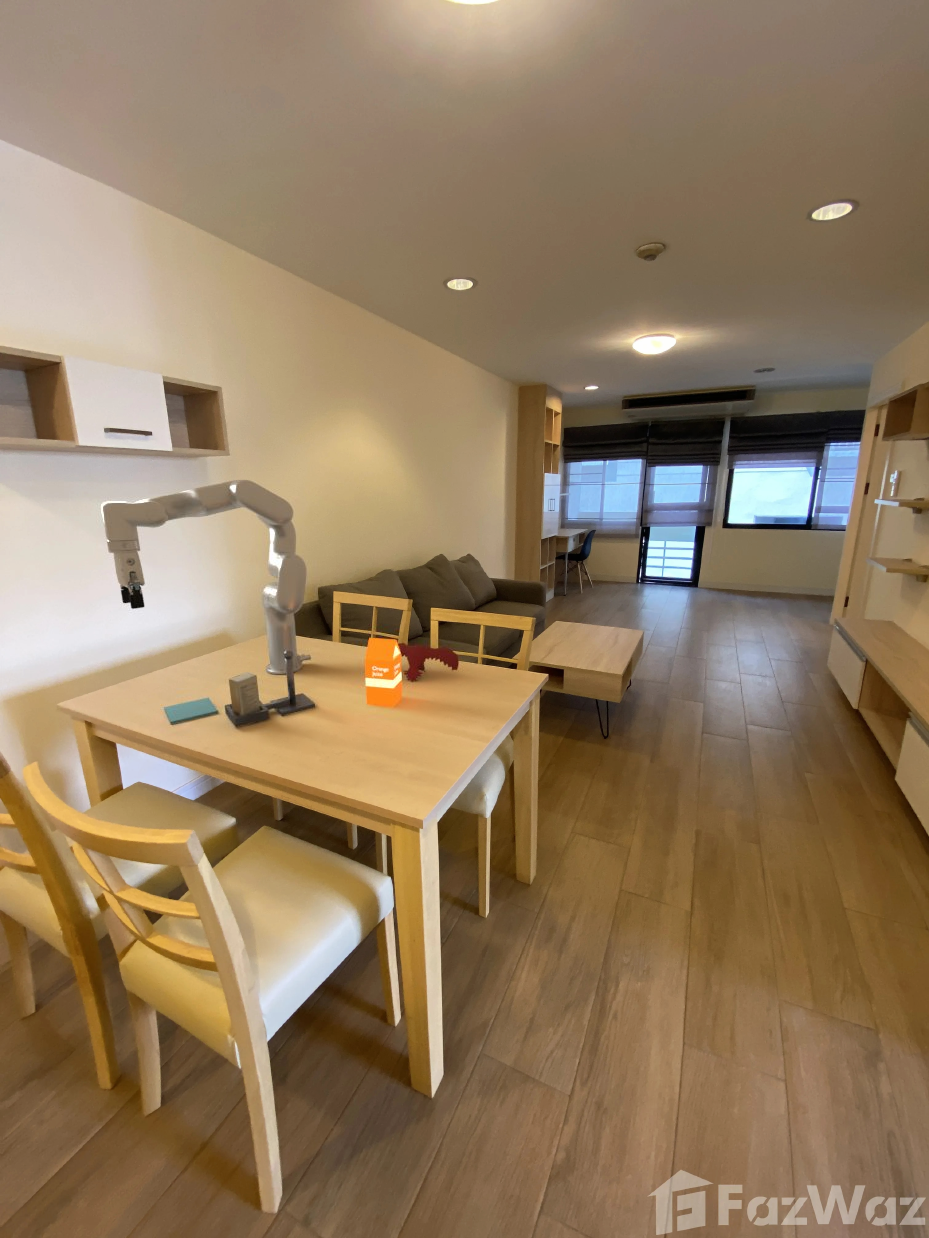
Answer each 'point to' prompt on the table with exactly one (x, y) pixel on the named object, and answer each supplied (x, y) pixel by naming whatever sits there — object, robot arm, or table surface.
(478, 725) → the table surface
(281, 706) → the ring stand
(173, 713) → the teal mat
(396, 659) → the orange juice
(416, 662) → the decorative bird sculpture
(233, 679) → the skincare box
